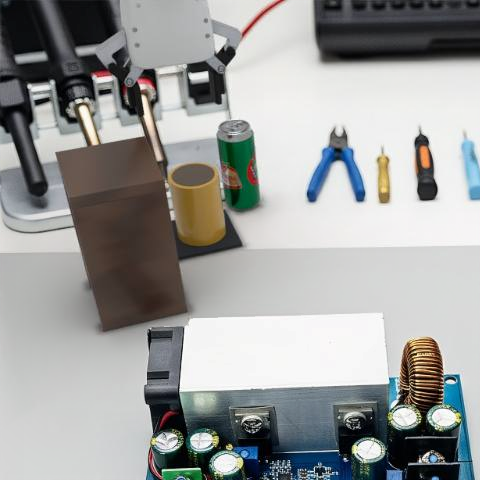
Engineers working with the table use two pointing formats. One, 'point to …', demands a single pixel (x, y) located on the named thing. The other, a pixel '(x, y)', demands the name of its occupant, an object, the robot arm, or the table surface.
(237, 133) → the soda can
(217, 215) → the cup
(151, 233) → the tall brown wooden block
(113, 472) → the table surface
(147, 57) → the robot arm
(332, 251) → the table surface
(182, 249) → the mat
